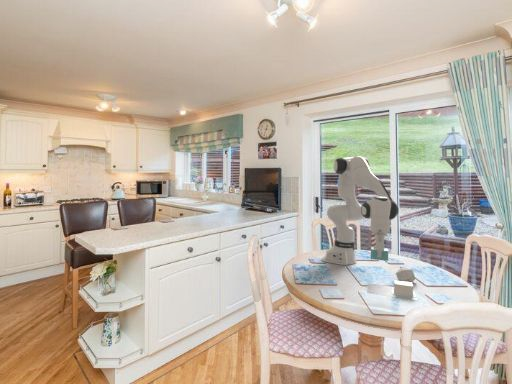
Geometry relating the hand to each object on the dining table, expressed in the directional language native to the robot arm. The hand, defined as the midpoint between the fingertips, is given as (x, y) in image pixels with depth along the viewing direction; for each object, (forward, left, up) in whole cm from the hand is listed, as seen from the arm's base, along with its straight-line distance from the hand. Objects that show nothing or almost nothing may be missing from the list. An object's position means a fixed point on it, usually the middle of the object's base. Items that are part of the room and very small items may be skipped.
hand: (379, 255), depth 139 cm
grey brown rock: (+14, +17, -19) cm, 29 cm away
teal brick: (0, 0, -2) cm, 2 cm away
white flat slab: (+6, 0, -19) cm, 20 cm away
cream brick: (+11, 0, -18) cm, 21 cm away
